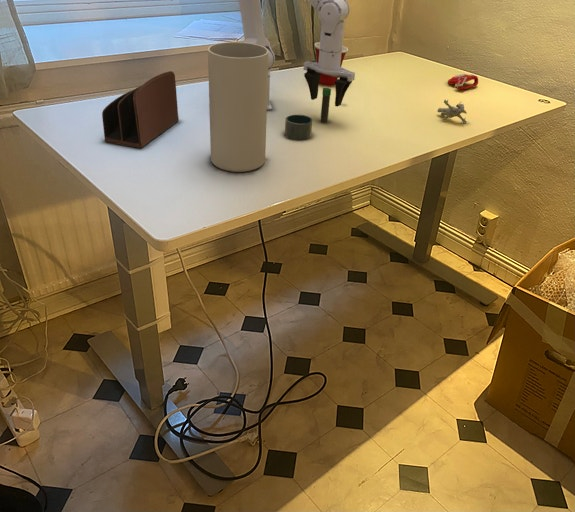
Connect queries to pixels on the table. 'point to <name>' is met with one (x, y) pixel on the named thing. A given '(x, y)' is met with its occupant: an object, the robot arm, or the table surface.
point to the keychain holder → (461, 79)
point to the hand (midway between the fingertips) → (325, 102)
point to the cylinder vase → (238, 105)
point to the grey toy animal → (453, 111)
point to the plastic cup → (325, 79)
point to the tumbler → (298, 127)
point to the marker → (325, 105)
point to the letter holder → (142, 112)
